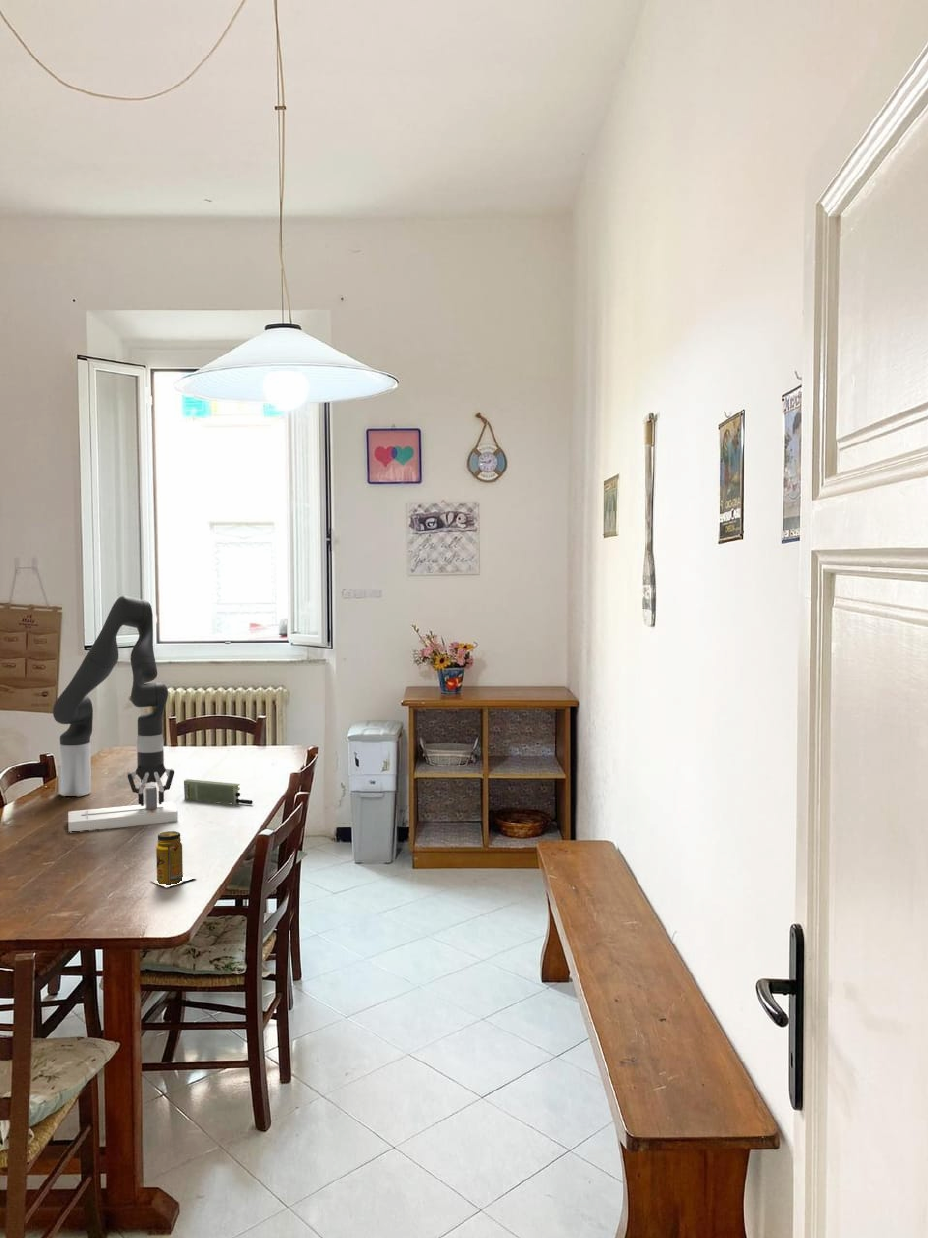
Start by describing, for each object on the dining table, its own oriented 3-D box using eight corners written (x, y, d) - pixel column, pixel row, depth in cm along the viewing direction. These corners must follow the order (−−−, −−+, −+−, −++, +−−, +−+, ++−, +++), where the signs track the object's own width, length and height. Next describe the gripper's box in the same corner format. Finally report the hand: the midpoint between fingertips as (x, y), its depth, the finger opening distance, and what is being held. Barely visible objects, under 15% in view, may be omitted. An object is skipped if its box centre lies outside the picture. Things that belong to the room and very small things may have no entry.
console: (68, 832, 258) (68, 822, 258) (68, 821, 269) (68, 811, 269) (177, 821, 270) (177, 811, 270) (173, 810, 281) (173, 801, 281)
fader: (146, 810, 270) (146, 790, 270) (145, 805, 275) (144, 786, 274) (157, 809, 271) (156, 789, 271) (155, 804, 276) (155, 785, 275)
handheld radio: (189, 798, 298) (255, 804, 290) (183, 801, 295) (249, 807, 287) (188, 778, 297) (254, 784, 289) (182, 781, 294) (248, 787, 286)
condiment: (149, 882, 219) (148, 834, 219) (180, 873, 226) (179, 826, 225) (166, 889, 215) (165, 840, 214) (197, 880, 221) (196, 832, 220)
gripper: (125, 753, 265) (126, 810, 267) (176, 749, 271) (177, 805, 272) (124, 748, 272) (125, 804, 273) (173, 744, 278) (174, 799, 279)
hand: (151, 804), depth 273 cm, fingers open, 4 cm apart
